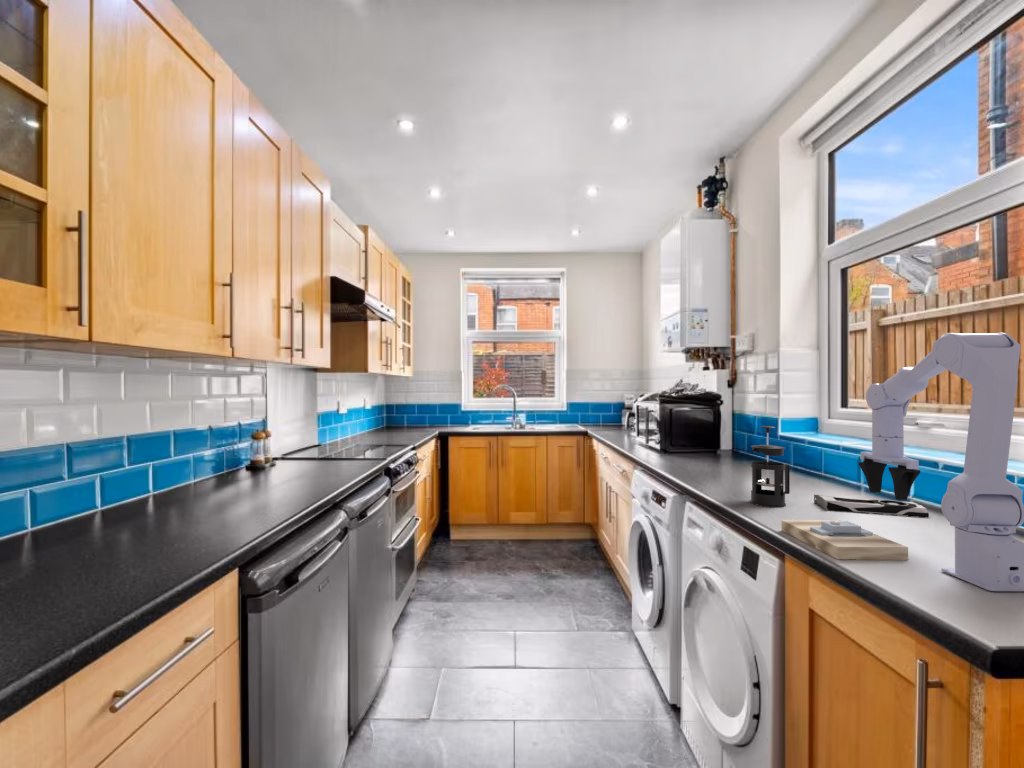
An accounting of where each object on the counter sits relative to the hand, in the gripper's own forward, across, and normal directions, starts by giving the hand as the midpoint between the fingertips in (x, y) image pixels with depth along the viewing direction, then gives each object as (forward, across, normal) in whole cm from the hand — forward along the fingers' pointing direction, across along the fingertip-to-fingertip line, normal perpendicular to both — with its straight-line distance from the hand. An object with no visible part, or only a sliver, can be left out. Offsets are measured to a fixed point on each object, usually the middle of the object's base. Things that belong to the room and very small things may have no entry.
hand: (887, 495), depth 111 cm
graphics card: (+10, +25, -15) cm, 31 cm away
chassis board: (+10, -5, +15) cm, 18 cm away
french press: (+10, +33, +9) cm, 36 cm away
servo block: (+10, -5, +14) cm, 18 cm away
